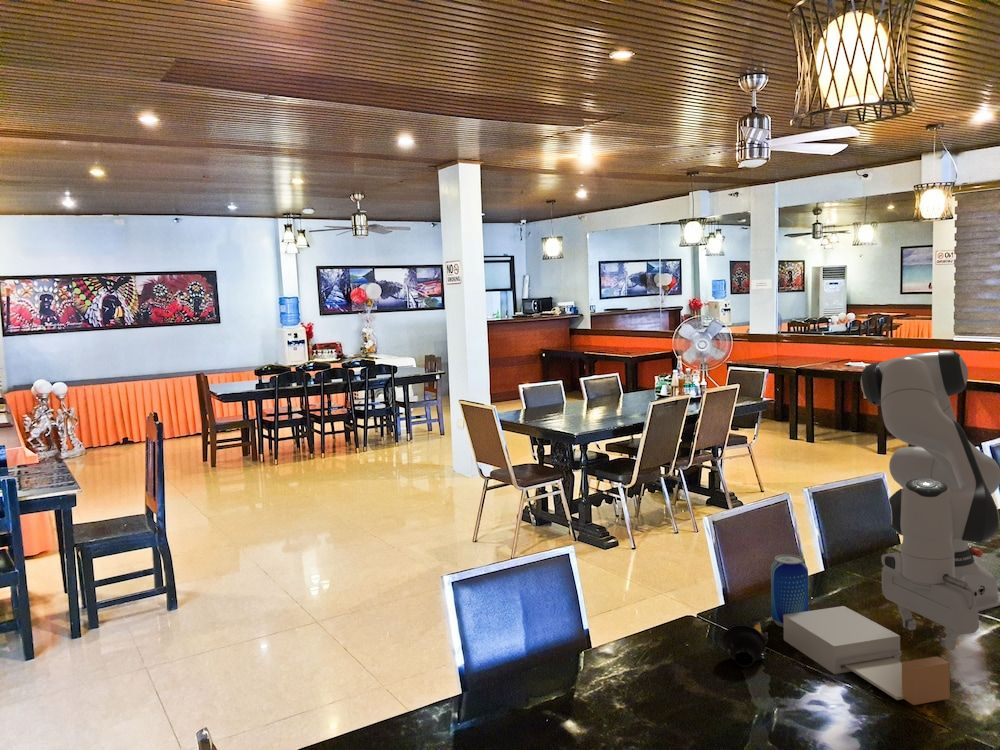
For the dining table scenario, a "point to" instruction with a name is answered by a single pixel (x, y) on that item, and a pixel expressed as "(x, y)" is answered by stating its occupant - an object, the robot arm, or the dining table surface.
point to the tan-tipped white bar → (907, 678)
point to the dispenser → (839, 637)
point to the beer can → (788, 587)
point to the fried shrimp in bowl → (745, 643)
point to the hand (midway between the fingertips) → (928, 638)
